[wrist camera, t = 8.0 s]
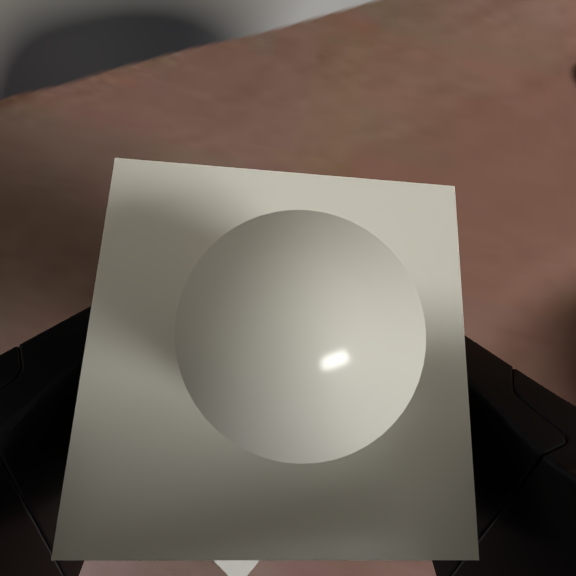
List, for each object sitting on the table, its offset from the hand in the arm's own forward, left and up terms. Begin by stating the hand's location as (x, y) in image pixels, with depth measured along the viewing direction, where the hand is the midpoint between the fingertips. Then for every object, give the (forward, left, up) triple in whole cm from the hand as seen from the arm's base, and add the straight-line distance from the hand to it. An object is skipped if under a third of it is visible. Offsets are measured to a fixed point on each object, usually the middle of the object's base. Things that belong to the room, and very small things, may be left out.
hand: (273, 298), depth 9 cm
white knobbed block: (-1, -1, -7) cm, 7 cm away
